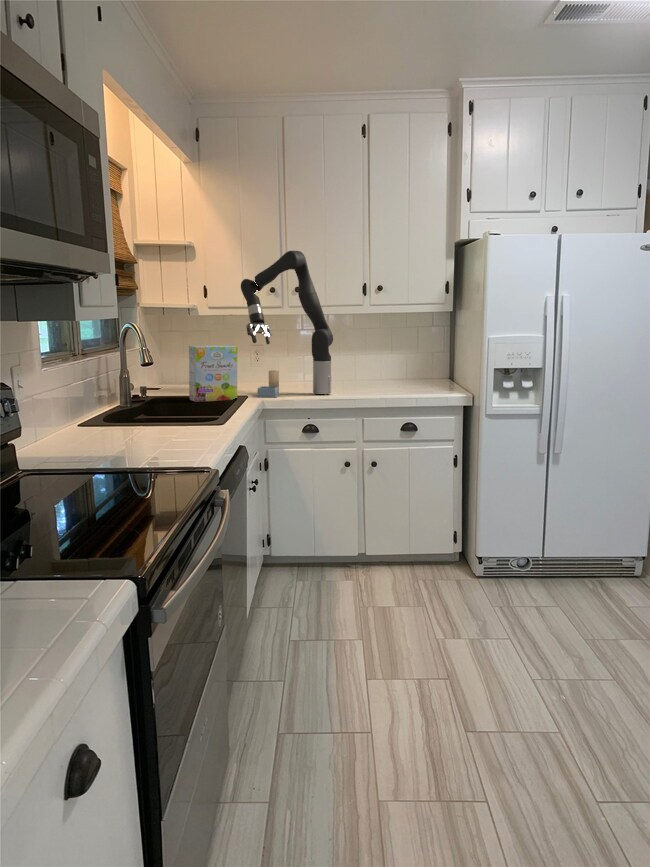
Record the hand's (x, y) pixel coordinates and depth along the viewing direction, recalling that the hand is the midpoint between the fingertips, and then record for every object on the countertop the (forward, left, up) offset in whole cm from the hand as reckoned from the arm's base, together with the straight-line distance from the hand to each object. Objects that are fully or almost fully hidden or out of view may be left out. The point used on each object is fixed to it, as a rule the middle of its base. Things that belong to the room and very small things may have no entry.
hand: (261, 343), depth 325 cm
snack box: (+15, +38, -26) cm, 48 cm away
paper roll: (-8, +10, -25) cm, 29 cm away
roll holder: (-7, +19, -25) cm, 33 cm away
